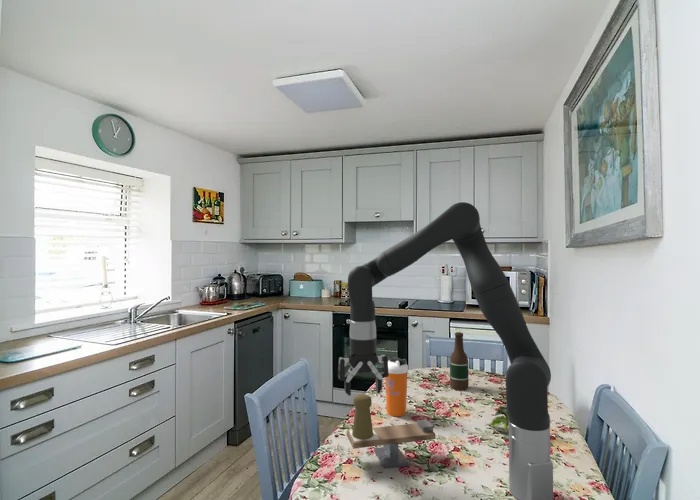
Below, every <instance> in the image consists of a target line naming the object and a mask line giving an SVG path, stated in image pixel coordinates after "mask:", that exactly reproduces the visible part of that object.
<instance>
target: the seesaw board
mask: <svg viewBox="0 0 700 500" xmlns="http://www.w3.org/2000/svg"><path fill="white" fill-rule="evenodd" d="M372 428H373V436H372V437H371V438H369V439H357V438H355V437H353V436H352V431H353V429H350V430H346V437H347V439H348V441H349V443H350V445H351V447H352V449H364V448H371V447H381V446H384V445H389V444H398V445H399V444H405V443H414V442H421V441H423V442H424V441H431V440H436V433H435V432H434V425H433V424H432V423H431V422H430V421H429V420H428V419H418V420H417V419H416V422H415V423H413V422H412V423H407V424H405V423H404V424H395V425H387V426H378V427H377V426H376V427H372Z"/></svg>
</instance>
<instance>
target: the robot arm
mask: <svg viewBox="0 0 700 500" xmlns="http://www.w3.org/2000/svg"><path fill="white" fill-rule="evenodd" d="M480 219H481V218H480V214H479V210H478V209H477V207H476V206H474V205H473V204H471V203H469V202H463V201H462V202H456V203H453V204H452V205H451V206H450V207H448V208H447V209H446V210H445V211H443V212H442V213H441V214H440V215H439V216H437V217H436V218H435V219H433V220H432V221H431V222H429V223H428V224H427V225H425V226H424V227H423V228H421V229H420V230H418V231H417V232H415V233H413V234H412V235H410V236H408V237H406V238H405V239H403V240H401V241H399V242H398V243H396V244H394V245H392V246H391V247H388V248H387V249H385V250H384V251H382V252H381V253H380V254H378V255H377V256H376V257H375V258H373V259H371V260H369V261H368V262H366V263H364V264H363V265H357V266H355V267H353V268H352V269H350V271H349V273H348V275H347V289H348V291H347V292H348V297H349V302H350V310H349V313H350V314H349V315H350V320H349V321H350V324H349V331H348V333H349V334H348V335H349V356H348V357H342V356H340V357H338V364H337V365H338V367H337V378H338V379H339V381H340V382H342V381H343V382H344V392H345V394H346V395H347V396H351V395H352V390H351V389H352V384H351V381H352V379H353V378H354V377H355V376H356V374H357V373H358V374H363V373H366V374H367V373H370V372H372V373H373V374H374V376H376V377H375V392H376V393H377V394H380V393H381V392H382V389H383V379H385V377H388V376H389V373H388V361H389V359H388V357H387V355H386V354H384V353H383V354H381V355H377V326H376V304H375V301H374V300H373V287H374V286H376V285H377V284H379V283H382V282H383V281H384V280H386V279H387V278H388V277H392V276H395V274H398V273H399V272H401V271H403V270H405V269H406V268H408V267H409V266H411V265H413V264H414V263H416V262H417V261H419V260H420V259H421V258H423V257H424V256H425V255H427V254H428V253H429V252H431V251H432V250H434V249H435V248H437V247H438V246H441V245H443V244H445V243H447V242H449V241H451V240H452V241H453V243H454V244H455V246H456V248H457V250H458V252H459V254H460V256H461V258H462V261H463V262H464V267H465V271H466V273H467V274H466V276H467V277H468V278H467V279H468V281H469V284H470V287H471V291H472V292H473V295H474V298H475V300H476V302H477V305H478V307H479V309H480V311H481V312H482V315H483V317H484V318H485V319H486V321H487V323H489V325H490V327H491V328H493V330H494V332H495V333H496V334H497V335H498V337H499V338H500V340H501V342H502V344H503V347H504V349H505V351H506V355H507V356H508V359H509V363H510V365H509V366H508V368H507V369H506V375H505V397H506V398H505V401H506V404H505V405H507V411H508V414H509V425H508V477H509V478H508V481H509V486H508V488H509V489H508V490H509V492H510V494H511V495H512V496H513V497H514V498H516V499H517V500H554V463H553V461H551V445H550V444H551V419H550V418H551V417H550V414H549V405H548V403H549V402H548V401H549V400H548V397H549V396H548V393H549V392H548V391H549V390H548V389H549V388H548V387H549V385H550V383H551V378H552V373H551V368H550V366H549V364H548V362H547V361H546V359H545V357H544V356H543V354H542V352H541V351H540V349H539V347H538V345H537V343H536V341H535V340H534V339H533V336H532V335H531V333H530V330H529V328H528V326H527V325H528V324H527V323H526V320H525V317H524V315H523V311H522V310H521V308H520V305H519V302H518V300H517V298H516V295H515V293H514V291H513V289H512V286H511V284H510V283H509V280H508V278H507V276H506V274H505V273H504V271H503V269H502V267H501V266H500V264H499V262H497V260H496V259H495V257H494V255H493V254H492V252H491V251H490V249H489V246H488V243H487V242H486V239H485V236H484V232H483V231H482V230H483V229H482V226H481V220H480ZM378 362H379V363H380V364H381V372H380V371H379V370H378V369H377V368H376V367H375V366H376V364H377V363H378ZM348 363H349V365H350V366H349V368H348V370H347V372H346V374H345V367H346V366H347V364H348Z"/></svg>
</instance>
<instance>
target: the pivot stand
mask: <svg viewBox="0 0 700 500" xmlns="http://www.w3.org/2000/svg"><path fill="white" fill-rule="evenodd" d="M373 451H374V454H375V455H376V457H377V459H378V460H379V462H380V463H381V465H382V466H383V469H384V470H385V469H393V468H401V467H402V468H403V467H409V465H410V464H409V461H408V459H407V458H406V456H405V455H404V454H403V452H402V451H401V450H400V448H399V443H398V444H389V445H383V446H382V447H381V446H378V447H374V449H373Z"/></svg>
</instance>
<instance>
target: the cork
mask: <svg viewBox="0 0 700 500" xmlns="http://www.w3.org/2000/svg"><path fill="white" fill-rule="evenodd" d="M352 400H353V407H354V408H355V409H354V416H353V424H352V430H353V431H352V436H353V437H355V438H357V439H369V438H371V437H372V436H373V428H374V427H373V421H372V415H371V408H370V407H371V406H372V398H371V396H370V395H369V394H366V393H361V394H360V393H359V394H357V395H355V396H354V397H353V399H352Z"/></svg>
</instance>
